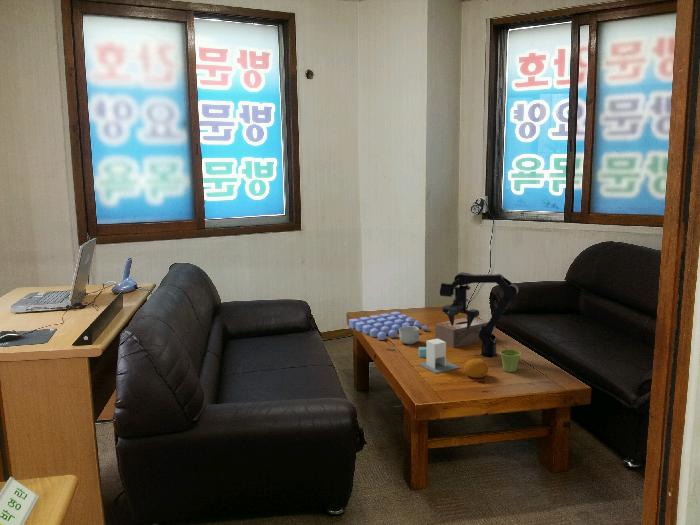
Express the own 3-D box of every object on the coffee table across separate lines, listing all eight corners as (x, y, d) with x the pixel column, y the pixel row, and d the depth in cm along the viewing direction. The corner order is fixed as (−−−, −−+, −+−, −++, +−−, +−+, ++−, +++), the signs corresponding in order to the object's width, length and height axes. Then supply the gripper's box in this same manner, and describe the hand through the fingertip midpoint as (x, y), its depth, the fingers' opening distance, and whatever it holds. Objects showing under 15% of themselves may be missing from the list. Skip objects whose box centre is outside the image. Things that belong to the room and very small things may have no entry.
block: (426, 354, 298) (426, 346, 298) (427, 357, 294) (427, 349, 294) (418, 354, 298) (418, 347, 298) (419, 357, 294) (419, 349, 294)
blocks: (396, 319, 368) (396, 311, 367) (431, 332, 338) (431, 324, 337) (348, 327, 350) (348, 319, 349) (380, 342, 321) (380, 333, 320)
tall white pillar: (437, 362, 285) (437, 338, 283) (445, 366, 279) (446, 342, 277) (426, 364, 282) (426, 340, 280) (434, 368, 276) (434, 344, 274)
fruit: (468, 370, 274) (468, 354, 273) (490, 374, 269) (491, 357, 268) (460, 377, 265) (461, 361, 264) (483, 382, 260) (483, 364, 259)
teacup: (418, 346, 311) (418, 331, 310) (397, 345, 313) (397, 330, 312) (420, 338, 325) (420, 324, 323) (400, 337, 327) (400, 323, 326)
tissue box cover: (453, 348, 308) (453, 329, 306) (435, 341, 320) (435, 323, 318) (488, 339, 322) (489, 322, 320) (470, 333, 334) (470, 316, 332)
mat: (442, 359, 290) (442, 358, 290) (459, 368, 278) (459, 367, 277) (418, 364, 283) (418, 363, 283) (435, 373, 271) (435, 372, 271)
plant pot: (516, 375, 268) (517, 356, 266) (496, 371, 273) (497, 353, 271) (522, 368, 276) (523, 351, 274) (502, 365, 281) (503, 348, 279)
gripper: (436, 297, 297) (435, 327, 299) (468, 303, 284) (467, 334, 287) (448, 293, 305) (447, 322, 308) (480, 299, 292) (479, 329, 295)
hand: (460, 327), depth 299 cm, fingers open, 9 cm apart
